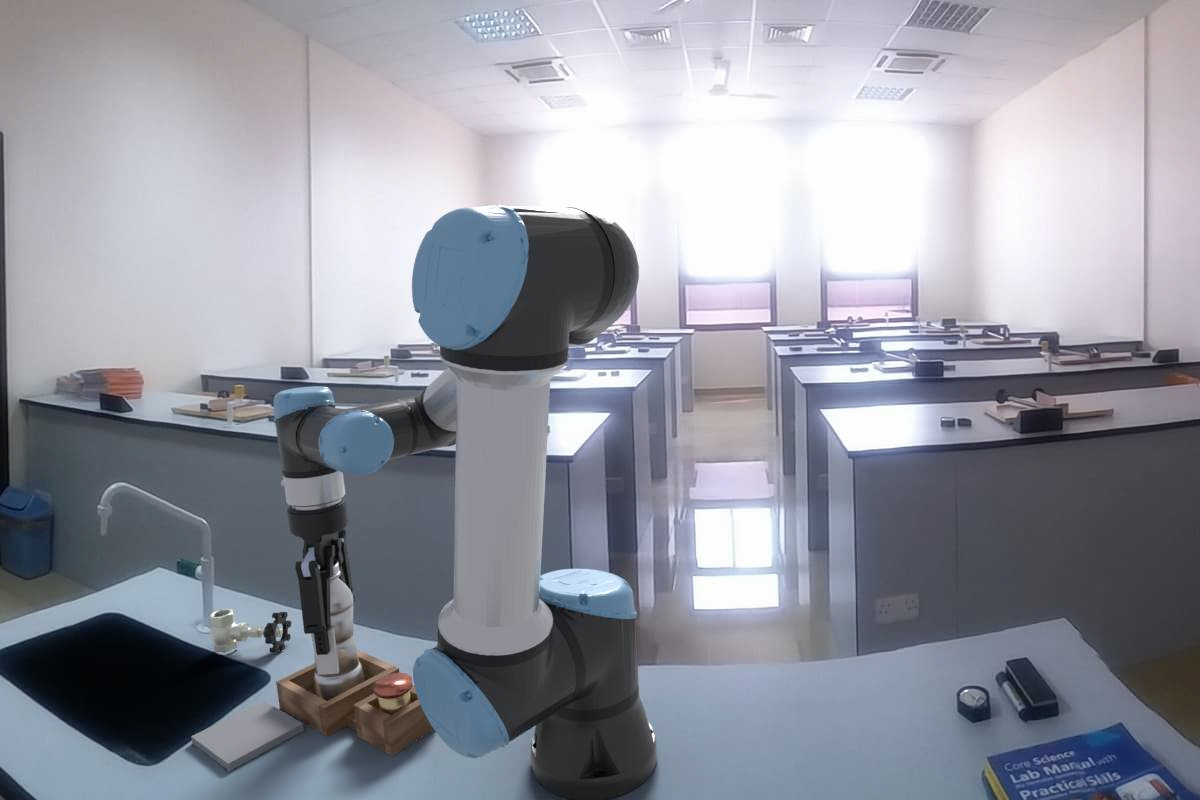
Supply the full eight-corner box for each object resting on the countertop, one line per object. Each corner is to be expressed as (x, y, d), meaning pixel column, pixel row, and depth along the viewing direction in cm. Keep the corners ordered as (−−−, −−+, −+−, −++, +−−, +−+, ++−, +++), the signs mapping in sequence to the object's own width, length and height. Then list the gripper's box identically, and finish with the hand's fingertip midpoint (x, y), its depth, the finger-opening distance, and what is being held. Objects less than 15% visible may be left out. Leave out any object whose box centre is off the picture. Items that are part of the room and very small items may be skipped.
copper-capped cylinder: (424, 725, 101) (419, 679, 100) (394, 744, 97) (388, 696, 96) (401, 714, 104) (396, 669, 103) (371, 731, 100) (365, 685, 99)
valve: (202, 661, 123) (273, 661, 122) (196, 622, 122) (268, 622, 120) (226, 641, 129) (294, 640, 128) (220, 604, 128) (289, 603, 127)
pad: (303, 730, 102) (302, 723, 102) (229, 771, 94) (228, 763, 94) (265, 706, 108) (264, 700, 108) (192, 743, 101) (191, 736, 100)
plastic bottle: (370, 701, 107) (354, 566, 104) (319, 717, 104) (301, 577, 101) (361, 681, 113) (345, 552, 110) (313, 695, 110) (295, 562, 106)
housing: (451, 718, 103) (448, 687, 102) (377, 765, 94) (373, 732, 93) (353, 670, 117) (349, 643, 116) (279, 707, 108) (275, 678, 107)
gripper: (313, 483, 113) (331, 630, 117) (259, 526, 94) (283, 699, 98) (364, 480, 113) (381, 627, 117) (320, 523, 94) (342, 696, 98)
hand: (336, 660), depth 108 cm, fingers closed on plastic bottle, 6 cm apart
